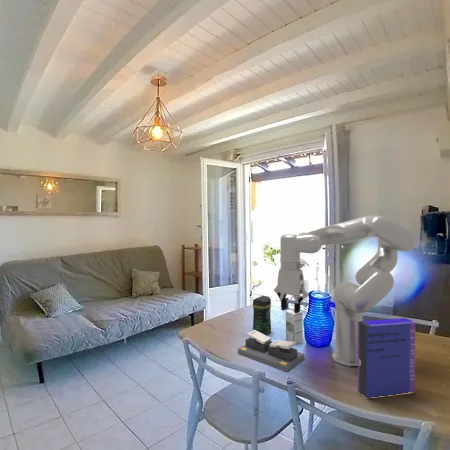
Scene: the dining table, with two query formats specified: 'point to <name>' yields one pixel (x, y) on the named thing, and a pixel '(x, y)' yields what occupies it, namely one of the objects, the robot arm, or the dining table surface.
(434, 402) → the dining table surface
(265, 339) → the outer rocker
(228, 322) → the dining table surface
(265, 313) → the coffee jar
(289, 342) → the inner rocker
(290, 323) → the syrup box
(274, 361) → the switch panel
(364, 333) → the blue upright rectangular block
